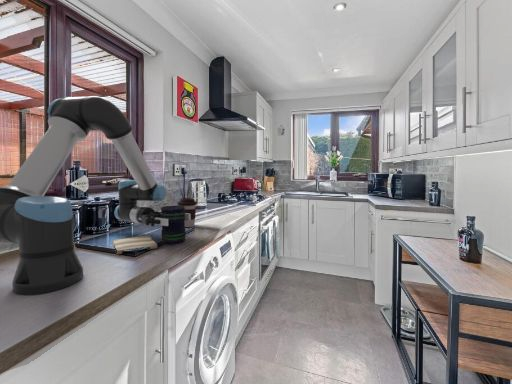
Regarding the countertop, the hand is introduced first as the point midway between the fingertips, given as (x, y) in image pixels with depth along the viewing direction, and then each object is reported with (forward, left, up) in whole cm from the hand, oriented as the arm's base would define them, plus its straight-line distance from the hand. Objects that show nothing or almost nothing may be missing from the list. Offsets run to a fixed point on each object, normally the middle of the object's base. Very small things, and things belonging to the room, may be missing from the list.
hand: (179, 219), depth 107 cm
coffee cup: (+28, -13, -10) cm, 33 cm away
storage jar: (+3, +2, -10) cm, 11 cm away
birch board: (+6, +17, -10) cm, 20 cm away
